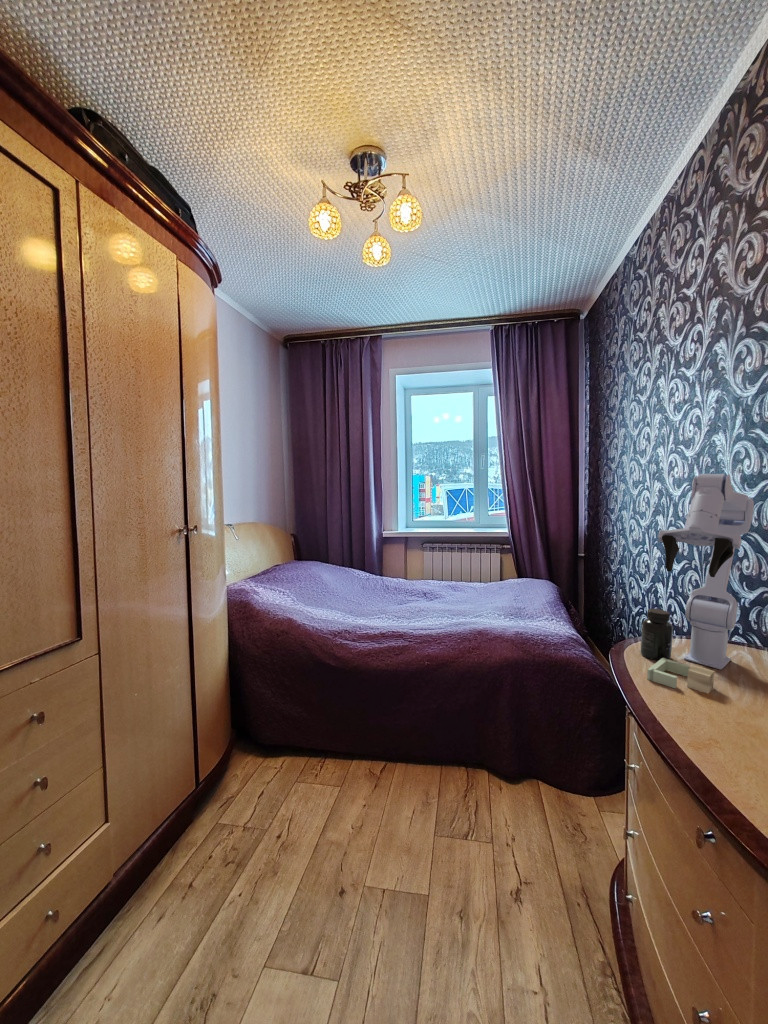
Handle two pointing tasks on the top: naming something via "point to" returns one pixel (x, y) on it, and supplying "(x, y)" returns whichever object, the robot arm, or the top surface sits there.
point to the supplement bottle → (657, 635)
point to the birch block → (700, 679)
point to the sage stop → (661, 677)
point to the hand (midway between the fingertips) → (689, 571)
